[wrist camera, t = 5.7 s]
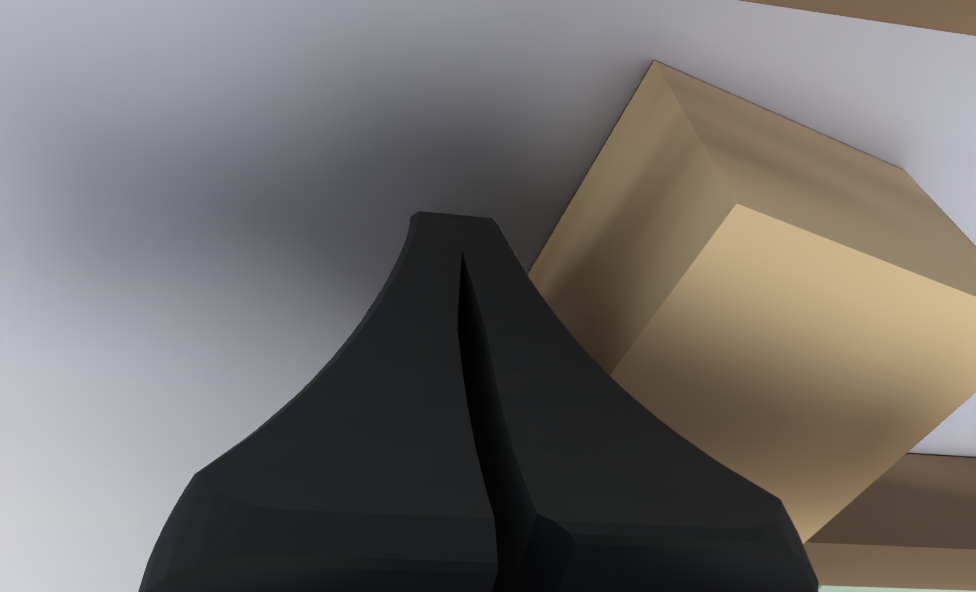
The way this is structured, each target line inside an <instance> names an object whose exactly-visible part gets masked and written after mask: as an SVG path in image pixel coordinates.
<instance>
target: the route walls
mask: <svg viewBox="0 0 976 592" xmlns="http://www.w3.org/2000/svg"><path fill="white" fill-rule="evenodd" d="M740 1H747V2H753V3H760V4H767V5H773V6H780V7H787V8H793V9H800V10H807V11H813V12H820V13H827V14H833V15H840V16H847V17H853V18H860V19H867V20H873V21H880V22H887V23H893V24H900V25H907V26H913V27H920V28H927V29H933V30H940V31H947V32H953V33H960V34H967V35H973V36H976V0H740ZM803 545H804V548H805V550H806V553H807V556H808V558H809V560H810V563H811V565H812V567H813V570H814V572H815V574H816V577H817V579H818V581H819V585H820V586H850V587H879V588H908V589H937V590H967V591H976V458H965V457H949V456H933V455H917V454H905V455H904V456H903V457H901V458H900V459H899V460H898V461H897V462H896V463H895V464H894V465H892V466H891V467H890V468H889V469H888V470H887V471H886V472H884V473H883V474H882V475H881V476H880V477H879V478H878V479H876V480H875V481H874V482H873V483H872V484H871V485H870V486H868V487H867V488H866V489H865V490H864V491H863V492H862V493H861V494H859V495H858V496H857V497H856V498H855V499H854V500H853V501H851V502H850V503H849V504H848V505H847V506H846V507H845V508H843V509H842V510H841V511H840V512H839V513H838V514H837V515H835V516H834V517H833V518H832V519H831V520H830V521H829V522H828V523H826V524H825V525H824V526H823V527H822V528H821V529H820V530H818V531H817V532H816V533H815V534H814V535H813V536H812V537H810V538H809V539H808V540H807V541H806V542H805V543H804V544H803Z"/></svg>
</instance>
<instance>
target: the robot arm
mask: <svg viewBox="0 0 976 592" xmlns="http://www.w3.org/2000/svg"><path fill="white" fill-rule="evenodd" d="M818 586H819V581H818V579H817V577H816V574H815V572H814V570H813V567H812V565H811V563H810V560H809V558H808V556H807V553H806V550H805V548H804V545H803V543H802V541H801V538H800V536H799V534H798V531H797V530H796V528H795V526H794V524H793V522H792V520H791V518H790V516H789V515H788V513H787V511H786V509H785V507H784V505H783V503H782V501H781V499H779V498H778V497H776V496H774V495H773V494H771V493H769V492H768V491H766V490H764V489H763V488H761V487H759V486H758V485H756V484H754V483H753V482H751V481H749V480H748V479H746V478H744V477H743V476H741V475H739V474H738V473H736V472H734V471H733V470H731V469H729V468H728V467H726V466H724V465H723V464H721V463H720V462H718V461H716V460H715V459H713V458H712V457H710V456H709V455H708V454H706V453H705V452H703V451H702V450H701V449H699V448H698V447H696V446H695V445H693V444H692V443H691V442H689V441H688V440H686V439H685V438H684V437H682V436H681V435H679V434H678V433H677V432H675V431H674V430H673V429H671V428H670V427H669V426H668V425H666V424H665V423H664V422H662V421H661V420H660V419H658V418H657V417H656V416H655V415H654V414H652V413H651V412H650V411H649V410H648V409H646V408H645V407H644V406H643V405H642V404H641V403H639V402H638V401H637V400H636V399H635V398H634V397H632V396H631V395H630V394H629V393H628V392H627V391H625V390H624V389H623V388H622V387H621V386H620V385H619V384H618V383H617V382H616V381H615V380H613V379H612V378H611V377H610V376H609V375H608V374H607V373H606V372H605V371H604V370H603V368H602V367H601V366H600V365H599V364H598V363H597V362H596V361H595V360H594V359H593V358H592V357H591V356H590V355H589V354H588V353H587V352H586V351H585V350H584V349H583V348H582V347H581V346H580V344H579V343H578V342H577V341H576V340H575V339H574V337H573V336H572V335H571V334H570V332H569V331H568V330H567V329H566V327H565V326H564V325H563V324H562V322H561V321H560V320H559V319H558V317H557V316H556V315H555V313H554V312H553V311H552V309H551V308H550V307H549V305H548V304H547V303H546V301H545V300H544V298H543V297H542V295H541V294H540V293H539V291H538V290H537V288H536V287H535V285H534V284H533V283H532V281H531V280H530V278H529V277H528V275H527V274H526V272H525V271H524V269H523V267H522V266H521V264H520V263H519V261H518V259H517V258H516V256H515V254H514V253H513V251H512V249H511V248H510V246H509V244H508V243H507V241H506V239H505V237H504V236H503V234H502V232H501V230H500V229H499V227H498V225H497V224H496V223H495V221H494V220H493V219H492V218H482V217H472V216H462V215H452V214H442V213H431V212H421V211H418V212H417V213H416V214H414V215H413V216H411V218H410V227H409V232H408V235H407V238H406V241H405V244H404V246H403V249H402V251H401V253H400V256H399V258H398V260H397V262H396V264H395V266H394V268H393V270H392V272H391V274H390V276H389V277H388V279H387V281H386V283H385V285H384V287H383V288H382V290H381V292H380V293H379V295H378V296H377V298H376V299H375V301H374V303H373V304H372V306H371V307H370V309H369V310H368V312H367V313H366V315H365V316H364V318H363V319H362V321H361V322H360V324H359V325H358V326H357V328H356V329H355V330H354V332H353V333H352V334H351V336H350V337H349V338H348V340H347V341H346V342H345V343H344V344H343V346H342V347H341V348H340V349H339V350H338V352H337V353H336V354H335V355H334V356H333V358H332V359H331V360H330V361H329V362H328V363H327V364H326V365H325V366H324V367H323V368H322V370H321V371H320V372H319V373H318V374H317V375H316V376H315V377H314V378H313V379H312V380H311V381H310V382H309V383H308V384H307V385H306V386H305V387H304V388H303V389H302V390H301V391H300V392H299V393H298V394H297V395H296V396H295V397H294V398H293V399H292V400H291V401H289V402H288V403H287V404H286V405H285V406H284V407H282V408H281V409H280V410H279V411H278V412H277V413H275V414H274V415H273V416H272V417H271V418H270V419H269V420H267V421H266V422H265V423H264V424H263V425H262V426H260V427H259V428H258V429H257V430H256V431H254V432H253V433H252V434H251V435H249V436H248V437H247V438H245V439H244V440H243V441H241V442H240V443H238V444H237V445H236V446H234V447H233V448H231V449H230V450H228V451H227V452H226V453H224V454H223V455H221V456H220V457H219V458H217V459H216V460H214V461H213V462H212V463H210V464H209V465H207V466H206V467H204V468H203V469H202V470H200V471H199V472H197V473H196V474H194V476H193V477H192V479H191V481H190V482H189V484H188V485H187V487H186V489H185V490H184V492H183V493H182V495H181V497H180V498H179V500H178V502H177V503H176V505H175V507H174V509H173V511H172V512H171V514H170V516H169V518H168V520H167V521H166V523H165V525H164V527H163V529H162V531H161V533H160V536H159V538H158V540H157V542H156V544H155V546H154V549H153V551H152V553H151V556H150V558H149V560H148V563H147V566H146V569H145V572H144V575H143V579H142V582H141V585H140V588H139V592H818Z"/></svg>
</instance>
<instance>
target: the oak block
mask: <svg viewBox="0 0 976 592" xmlns="http://www.w3.org/2000/svg"><path fill="white" fill-rule="evenodd" d="M528 277H529V278H530V280H531V281H532V283H533V284H534V285H535V287H536V288H537V290H538V291H539V293H540V294H541V295H542V297H543V298H544V300H545V301H546V303H547V304H548V305H549V307H550V308H551V309H552V311H553V312H554V313H555V315H556V316H557V317H558V319H559V320H560V321H561V322H562V324H563V325H564V326H565V327H566V329H567V330H568V331H569V332H570V334H571V335H572V336H573V337H574V339H575V340H576V341H577V342H578V343H579V344H580V346H581V347H582V348H583V349H584V350H585V351H586V352H587V353H588V354H589V355H590V356H591V357H592V358H593V359H594V360H595V361H596V362H597V363H598V364H599V365H600V366H601V367H602V368H603V370H604V371H605V372H606V373H607V374H608V375H609V376H610V377H611V378H612V379H613V380H615V381H616V382H617V383H618V384H619V385H620V386H621V387H622V388H623V389H624V390H625V391H627V392H628V393H629V394H630V395H631V396H632V397H634V398H635V399H636V400H637V401H638V402H639V403H641V404H642V405H643V406H644V407H645V408H646V409H648V410H649V411H650V412H651V413H652V414H654V415H655V416H656V417H657V418H658V419H660V420H661V421H662V422H664V423H665V424H666V425H668V426H669V427H670V428H671V429H673V430H674V431H675V432H677V433H678V434H679V435H681V436H682V437H684V438H685V439H686V440H688V441H689V442H691V443H692V444H693V445H695V446H696V447H698V448H699V449H701V450H702V451H703V452H705V453H706V454H708V455H709V456H710V457H712V458H713V459H715V460H716V461H718V462H720V463H721V464H723V465H724V466H726V467H728V468H729V469H731V470H733V471H734V472H736V473H738V474H739V475H741V476H743V477H744V478H746V479H748V480H749V481H751V482H753V483H754V484H756V485H758V486H759V487H761V488H763V489H764V490H766V491H768V492H769V493H771V494H773V495H774V496H776V497H778V498H779V499H781V501H782V503H783V505H784V507H785V509H786V511H787V513H788V515H789V516H790V518H791V520H792V522H793V524H794V526H795V528H796V530H797V531H798V534H799V536H800V538H801V541H802V543H803V544H804V543H805V542H806V541H807V540H808V539H809V538H810V537H812V536H813V535H814V534H815V533H816V532H817V531H818V530H820V529H821V528H822V527H823V526H824V525H825V524H826V523H828V522H829V521H830V520H831V519H832V518H833V517H834V516H835V515H837V514H838V513H839V512H840V511H841V510H842V509H843V508H845V507H846V506H847V505H848V504H849V503H850V502H851V501H853V500H854V499H855V498H856V497H857V496H858V495H859V494H861V493H862V492H863V491H864V490H865V489H866V488H867V487H868V486H870V485H871V484H872V483H873V482H874V481H875V480H876V479H878V478H879V477H880V476H881V475H882V474H883V473H884V472H886V471H887V470H888V469H889V468H890V467H891V466H892V465H894V464H895V463H896V462H897V461H898V460H899V459H900V458H901V457H903V456H904V455H905V454H906V453H907V452H908V451H909V450H911V449H912V448H913V447H914V446H915V445H916V444H917V443H919V442H920V441H921V440H922V439H923V438H924V437H925V436H927V435H928V434H929V433H930V432H931V431H932V430H933V429H935V428H936V427H937V426H938V425H939V424H940V423H941V422H942V421H944V420H945V419H946V418H947V417H948V416H949V415H950V414H952V413H953V412H954V411H955V410H956V409H957V408H958V407H960V406H961V405H962V404H963V403H964V402H965V401H966V400H968V399H969V398H970V397H971V396H972V395H973V394H974V393H975V392H976V246H975V245H974V244H973V243H972V242H971V240H970V239H969V238H968V237H967V236H966V235H965V234H964V233H963V232H962V231H961V230H960V229H959V228H958V227H957V226H956V224H955V223H954V222H953V221H952V220H951V219H950V218H949V217H948V216H947V215H946V214H945V213H944V212H943V211H942V210H941V208H940V207H939V206H938V205H937V204H936V203H935V202H934V201H933V200H932V199H931V198H930V197H929V196H928V195H927V194H926V193H925V191H924V190H923V189H922V188H921V187H920V186H919V185H918V184H917V183H916V182H915V181H914V180H913V179H912V178H911V177H910V175H909V174H908V173H907V172H906V171H905V170H902V169H900V168H898V167H896V166H893V165H891V164H889V163H887V162H884V161H882V160H880V159H877V158H875V157H873V156H871V155H868V154H866V153H864V152H862V151H859V150H857V149H855V148H853V147H850V146H848V145H846V144H843V143H841V142H839V141H837V140H834V139H832V138H830V137H828V136H825V135H823V134H821V133H818V132H816V131H814V130H812V129H809V128H807V127H805V126H803V125H800V124H798V123H796V122H794V121H791V120H789V119H787V118H784V117H782V116H780V115H778V114H775V113H773V112H771V111H769V110H766V109H764V108H762V107H759V106H757V105H755V104H753V103H750V102H748V101H746V100H744V99H741V98H739V97H737V96H735V95H732V94H730V93H728V92H725V91H723V90H721V89H719V88H716V87H714V86H712V85H710V84H707V83H705V82H703V81H700V80H698V79H696V78H694V77H691V76H689V75H687V74H685V73H682V72H680V71H678V70H676V69H673V68H671V67H669V66H666V65H664V64H662V63H660V62H657V61H655V60H654V61H653V63H652V65H651V67H650V68H649V70H648V72H647V73H646V75H645V77H644V78H643V80H642V82H641V84H640V85H639V87H638V89H637V90H636V92H635V94H634V95H633V97H632V99H631V100H630V102H629V104H628V106H627V107H626V109H625V111H624V112H623V114H622V116H621V117H620V119H619V121H618V122H617V124H616V126H615V128H614V129H613V131H612V133H611V134H610V136H609V138H608V139H607V141H606V143H605V144H604V146H603V148H602V150H601V151H600V153H599V155H598V156H597V158H596V160H595V161H594V163H593V165H592V167H591V168H590V170H589V172H588V173H587V175H586V177H585V178H584V180H583V182H582V183H581V185H580V187H579V189H578V190H577V192H576V194H575V195H574V197H573V199H572V200H571V202H570V204H569V205H568V207H567V209H566V211H565V212H564V214H563V216H562V217H561V219H560V221H559V222H558V224H557V226H556V228H555V229H554V231H553V233H552V234H551V236H550V238H549V239H548V241H547V243H546V244H545V246H544V248H543V250H542V251H541V253H540V255H539V256H538V258H537V260H536V261H535V263H534V265H533V266H532V268H531V270H530V272H529V273H528Z"/></svg>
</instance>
